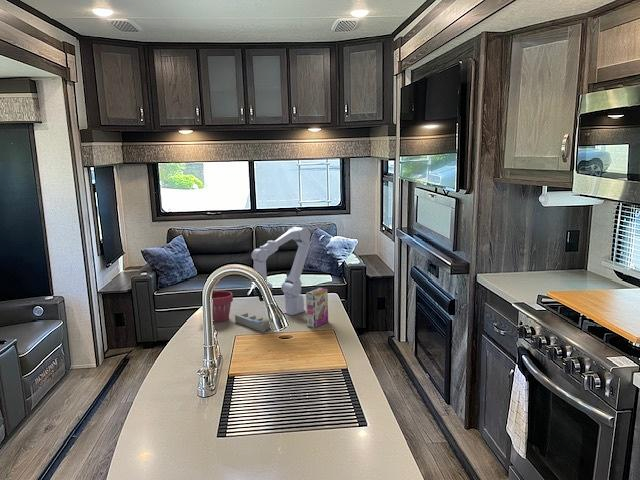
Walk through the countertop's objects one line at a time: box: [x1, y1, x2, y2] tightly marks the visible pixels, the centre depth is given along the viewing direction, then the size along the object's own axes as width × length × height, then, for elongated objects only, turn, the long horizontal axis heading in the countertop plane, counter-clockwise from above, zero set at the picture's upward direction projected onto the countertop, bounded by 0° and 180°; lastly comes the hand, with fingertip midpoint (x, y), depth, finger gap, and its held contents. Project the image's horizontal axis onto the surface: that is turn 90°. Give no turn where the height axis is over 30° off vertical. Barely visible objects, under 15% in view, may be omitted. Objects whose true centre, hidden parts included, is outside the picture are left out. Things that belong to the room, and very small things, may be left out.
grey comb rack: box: [234, 312, 271, 333], centre depth 226 cm, size 6×22×4 cm, turn 44°
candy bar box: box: [305, 287, 329, 329], centre depth 222 cm, size 11×5×16 cm, turn 144°
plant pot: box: [212, 290, 234, 323], centre depth 236 cm, size 14×14×13 cm
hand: (262, 300), depth 231 cm, fingers closed
